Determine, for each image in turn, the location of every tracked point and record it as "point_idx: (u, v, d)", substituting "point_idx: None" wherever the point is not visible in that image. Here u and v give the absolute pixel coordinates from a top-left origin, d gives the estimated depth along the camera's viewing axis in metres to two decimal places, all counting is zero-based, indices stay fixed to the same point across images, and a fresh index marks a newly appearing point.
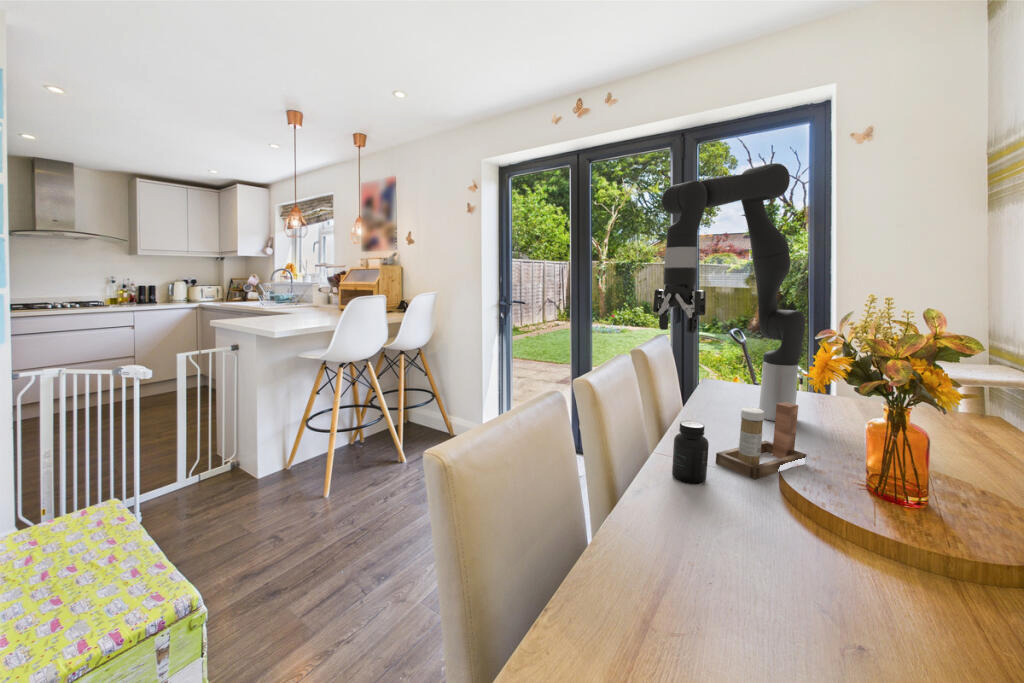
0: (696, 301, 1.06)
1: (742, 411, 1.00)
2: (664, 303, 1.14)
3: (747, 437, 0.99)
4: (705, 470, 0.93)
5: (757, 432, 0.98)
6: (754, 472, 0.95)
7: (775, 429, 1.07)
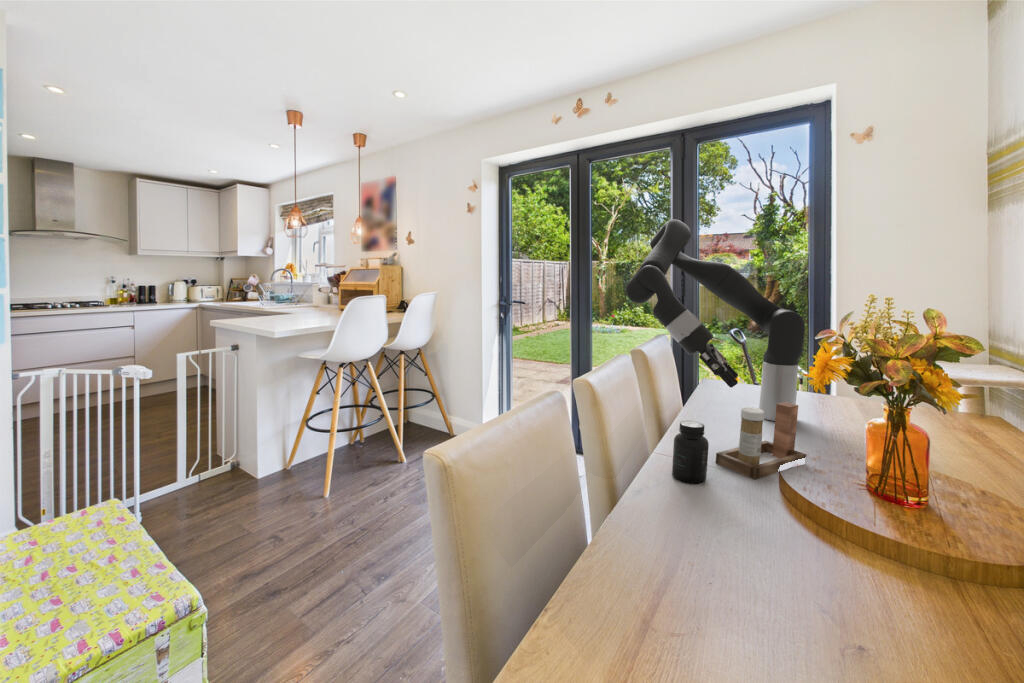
0: None
1: (742, 411, 1.00)
2: (720, 357, 1.08)
3: (747, 437, 0.99)
4: (705, 470, 0.93)
5: (757, 432, 0.98)
6: (754, 472, 0.95)
7: (775, 429, 1.07)
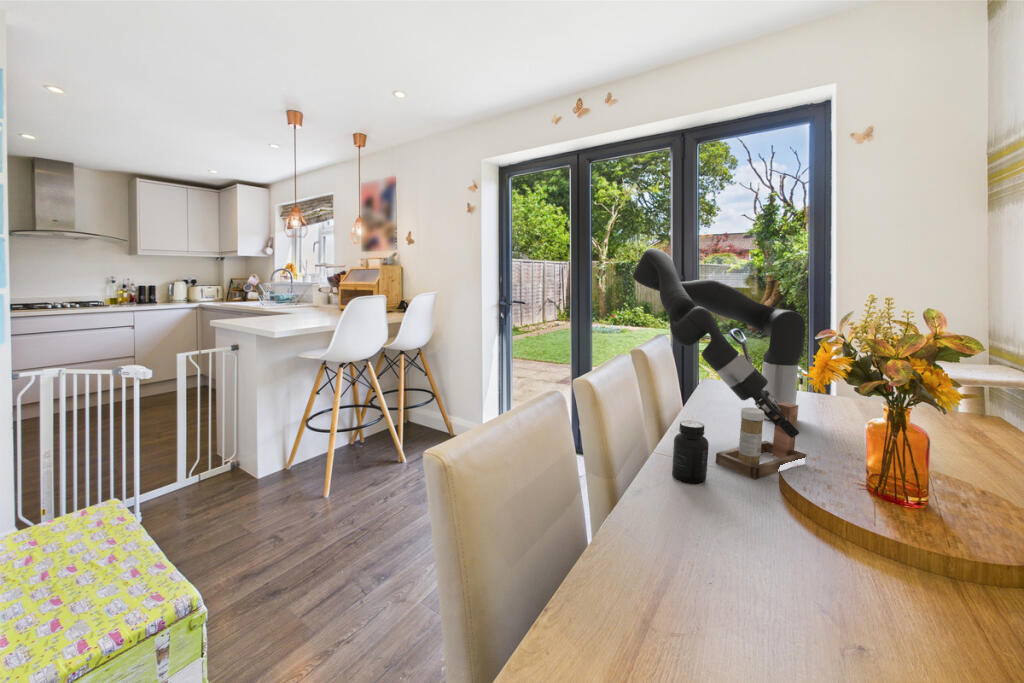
0: None
1: (742, 411, 1.00)
2: (777, 405, 1.04)
3: (747, 437, 0.99)
4: (705, 470, 0.93)
5: (757, 432, 0.98)
6: (754, 472, 0.95)
7: (775, 429, 1.07)
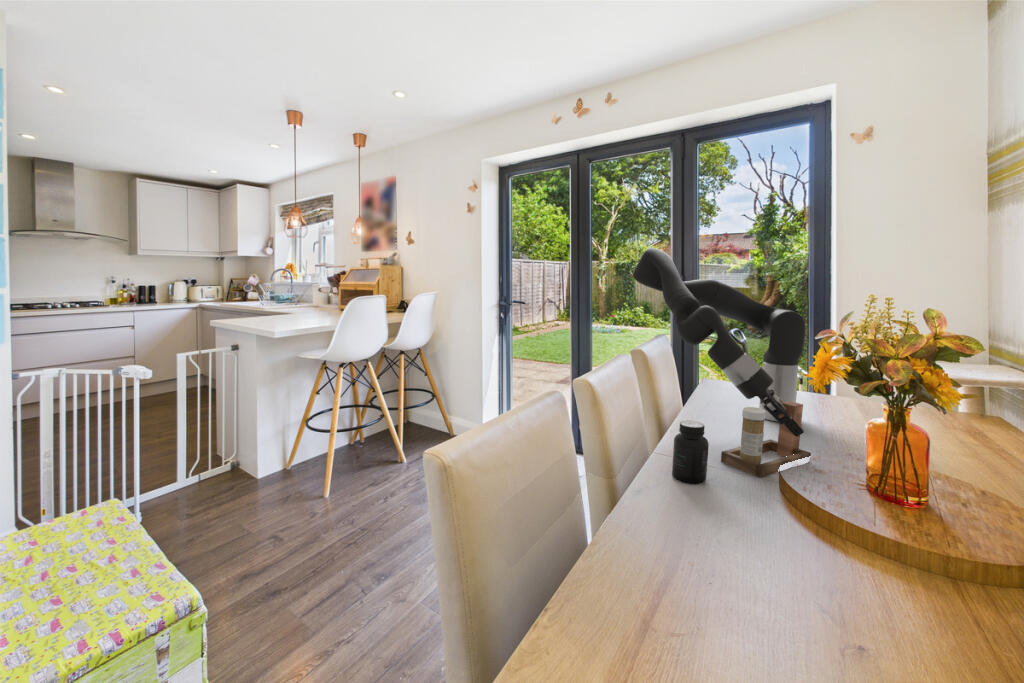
0: None
1: (743, 411, 1.00)
2: (782, 404, 1.05)
3: (749, 436, 0.99)
4: (705, 470, 0.93)
5: (758, 431, 0.98)
6: (759, 471, 0.96)
7: (780, 428, 1.07)
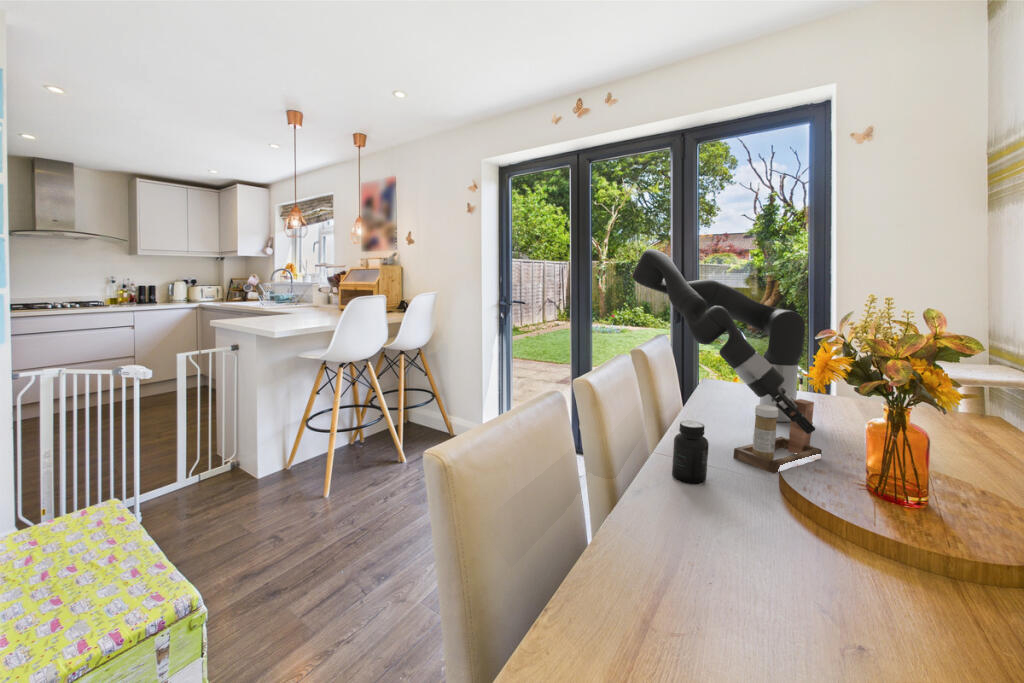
0: None
1: (756, 408, 1.02)
2: (794, 402, 1.07)
3: (761, 433, 1.01)
4: (705, 470, 0.93)
5: (771, 428, 1.00)
6: (772, 467, 0.98)
7: (791, 425, 1.09)
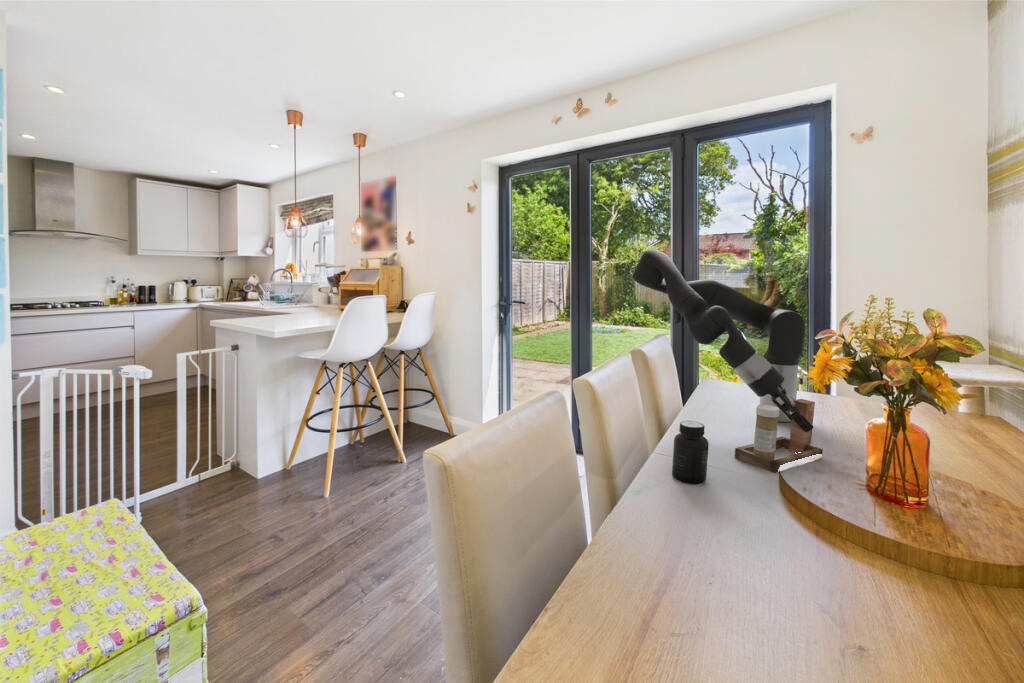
0: None
1: (757, 408, 1.02)
2: (793, 401, 1.07)
3: (762, 433, 1.01)
4: (705, 470, 0.93)
5: (772, 428, 1.00)
6: (773, 467, 0.98)
7: (792, 425, 1.10)
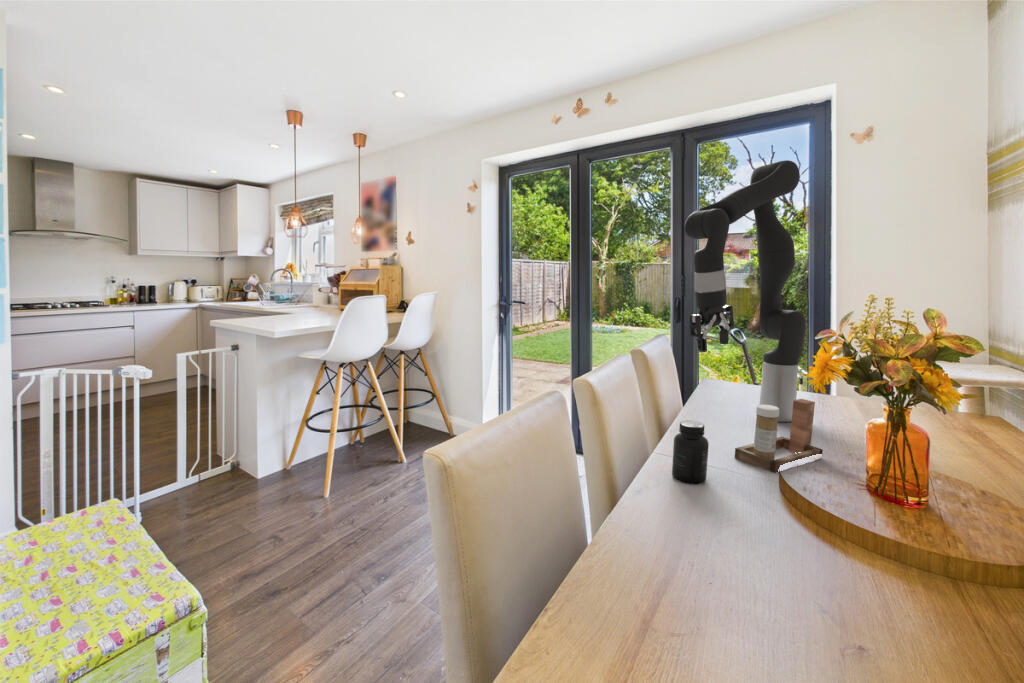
0: (731, 314, 1.21)
1: (757, 408, 1.02)
2: (710, 325, 1.16)
3: (762, 433, 1.01)
4: (705, 470, 0.93)
5: (772, 428, 1.00)
6: (773, 467, 0.98)
7: (792, 425, 1.10)
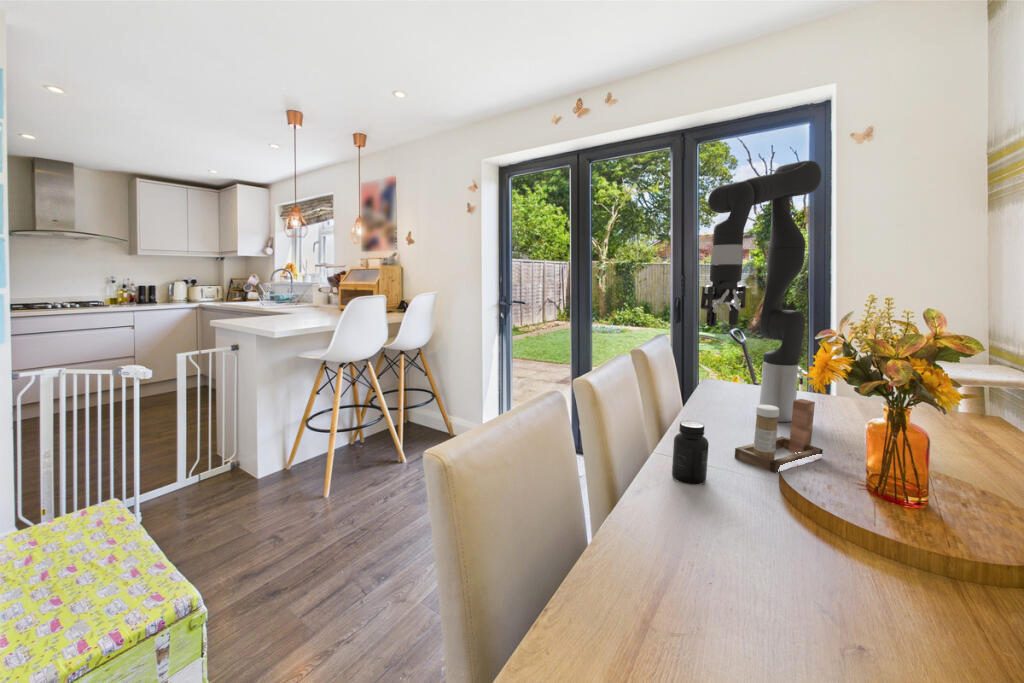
0: (744, 295, 1.19)
1: (757, 408, 1.02)
2: (722, 299, 1.14)
3: (762, 433, 1.01)
4: (705, 470, 0.93)
5: (772, 428, 1.00)
6: (773, 467, 0.98)
7: (792, 425, 1.10)
